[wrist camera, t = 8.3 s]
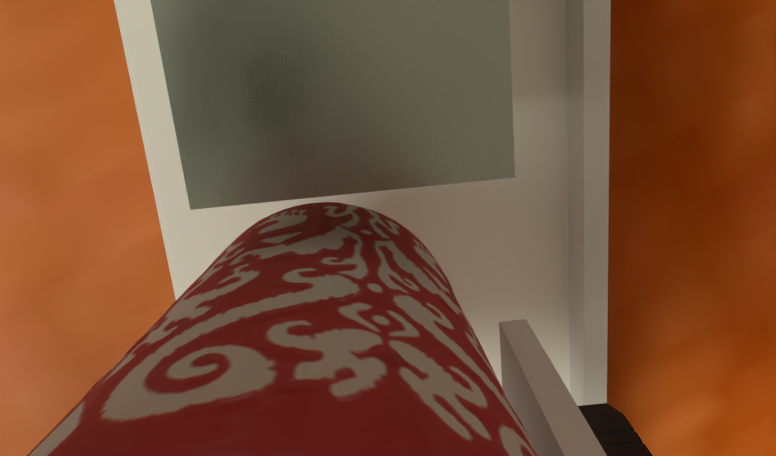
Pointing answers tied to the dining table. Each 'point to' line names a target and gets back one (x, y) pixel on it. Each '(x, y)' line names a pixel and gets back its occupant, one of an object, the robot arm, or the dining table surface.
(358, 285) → the mug
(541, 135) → the shelf
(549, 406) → the robot arm
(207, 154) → the tea tin
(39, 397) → the dining table surface
